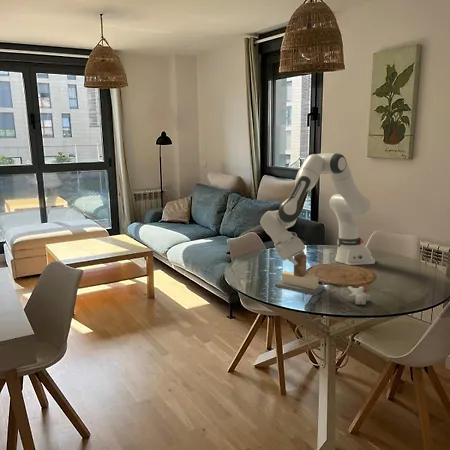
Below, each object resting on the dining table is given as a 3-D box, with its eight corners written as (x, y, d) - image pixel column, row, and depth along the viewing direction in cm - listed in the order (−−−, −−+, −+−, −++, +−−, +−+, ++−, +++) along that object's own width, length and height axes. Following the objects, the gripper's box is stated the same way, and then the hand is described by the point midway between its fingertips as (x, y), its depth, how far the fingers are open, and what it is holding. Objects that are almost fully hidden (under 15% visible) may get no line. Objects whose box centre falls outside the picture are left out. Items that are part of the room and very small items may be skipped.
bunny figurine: (350, 297, 194) (345, 282, 208) (349, 308, 196) (344, 292, 210) (372, 298, 193) (366, 282, 207) (371, 308, 194) (365, 292, 209)
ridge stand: (275, 286, 221) (275, 274, 219) (284, 280, 229) (284, 268, 227) (316, 295, 208) (316, 282, 207) (324, 288, 216) (325, 276, 215)
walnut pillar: (293, 275, 217) (294, 255, 215) (297, 273, 220) (298, 253, 218) (302, 277, 214) (302, 257, 212) (306, 274, 218) (306, 255, 216)
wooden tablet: (371, 290, 210) (350, 287, 211) (371, 295, 210) (349, 292, 212) (362, 273, 236) (343, 270, 237) (361, 277, 236) (342, 274, 237)
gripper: (277, 240, 209) (295, 263, 205) (296, 231, 225) (314, 253, 222) (269, 248, 212) (287, 271, 209) (288, 239, 229) (306, 260, 225)
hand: (301, 261), depth 215 cm, fingers open, 8 cm apart
